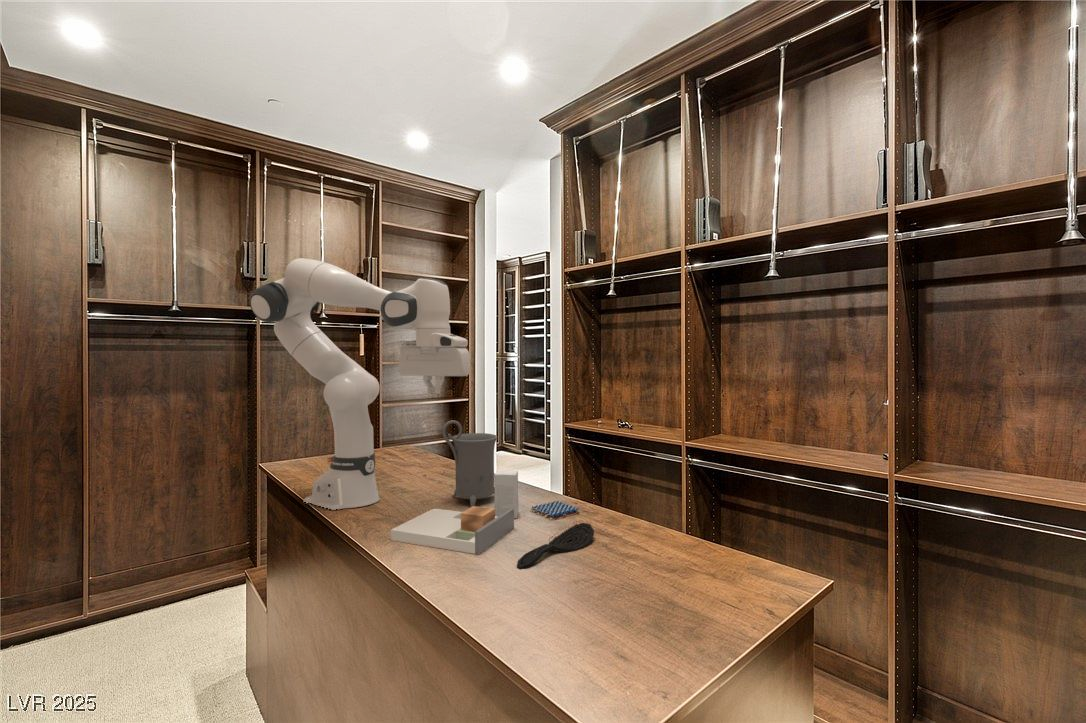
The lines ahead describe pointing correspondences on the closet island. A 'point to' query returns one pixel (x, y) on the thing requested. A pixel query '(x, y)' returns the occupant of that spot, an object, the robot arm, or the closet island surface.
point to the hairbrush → (560, 544)
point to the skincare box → (506, 492)
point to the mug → (472, 463)
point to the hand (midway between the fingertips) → (433, 393)
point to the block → (476, 518)
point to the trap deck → (452, 531)
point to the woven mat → (555, 510)
